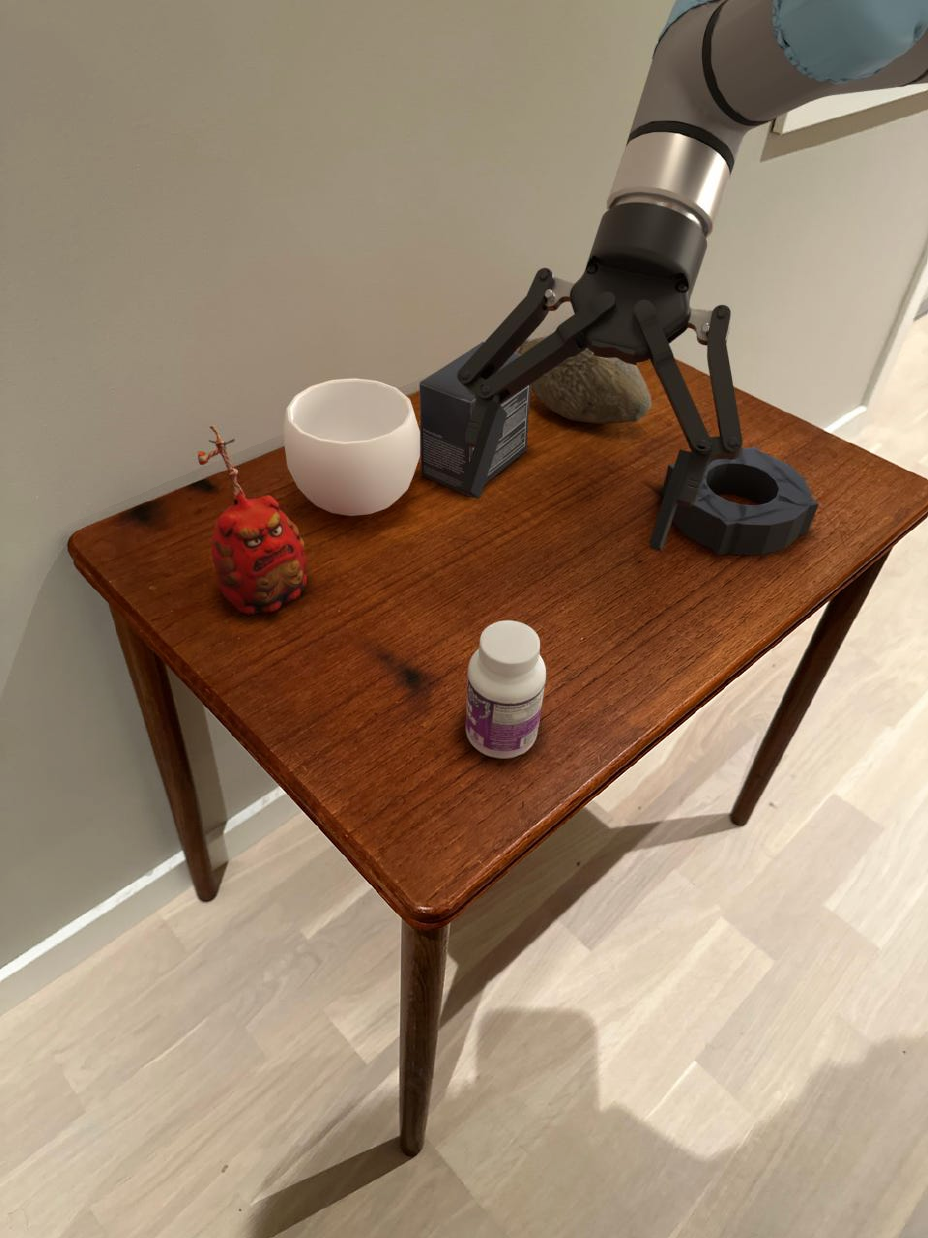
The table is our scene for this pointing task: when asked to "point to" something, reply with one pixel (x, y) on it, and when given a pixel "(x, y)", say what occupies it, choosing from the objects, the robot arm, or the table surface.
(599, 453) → the table surface
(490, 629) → the pill bottle
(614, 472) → the table surface
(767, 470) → the dark grey faceted ring
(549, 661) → the table surface
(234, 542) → the red clay folk toy
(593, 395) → the stone
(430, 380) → the small box
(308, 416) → the cup
